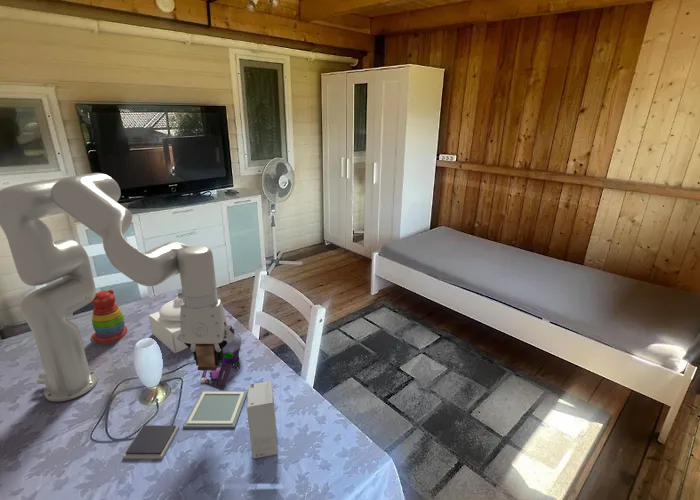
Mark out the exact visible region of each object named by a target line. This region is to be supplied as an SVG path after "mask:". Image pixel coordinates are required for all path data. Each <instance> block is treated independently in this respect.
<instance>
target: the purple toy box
mask: <svg viewBox="0 0 700 500" xmlns="http://www.w3.org/2000/svg"><path fill="white" fill-rule="evenodd" d="M219 365H221V366H220V367H219V366H218V368H217V369H216V371H202V374H201V378H200V383H202V384H204V385H205V384H206V386H207V385H208V386H211V387H217V388H219V389H220V388H221V389H225V388H226V385H227V382H228V379H229V375H230V371H231V368H232V364H231V363H225V362H220V364H219ZM207 372H208V374H209V375H208V378H206V376H207ZM209 378H211V379H209ZM214 380H216V382H215V384H213V383H214Z"/></svg>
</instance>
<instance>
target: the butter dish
mask: <svg viewBox="0 0 700 500" xmlns="http://www.w3.org/2000/svg"><path fill="white" fill-rule="evenodd" d="M182 304H183V299H181V298H178V296H177V297H175V298H174V299H173V300H170V301H168V302H166V303H165V304H163V305H162V306H161V307H160V308H159V311H156V312H154V313H151V314H148V319H149V324H150V330H151V334H152V335H153V336H155V338H157V340H159V341H160V342H161V343H162V344H164V345H165V346H166V347H167V348H168V349H169V350H171V352H173V353H174V354H177V353H179V352H182V351H184V350H185V349H188V348H189V347H188V346H186V345H185V343H182V342H181V341H179V340H177V337H178V336H179V334H180V333H181V329H180V310H181V305H182Z"/></svg>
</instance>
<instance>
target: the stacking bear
mask: <svg viewBox="0 0 700 500" xmlns="http://www.w3.org/2000/svg"><path fill="white" fill-rule="evenodd" d="M114 293H115V292H114V290H112V289H108V290H101V291H99V292H98V291H97V292H96V295H95V298H94V299H93V301H92V302H91V303H92V306H93V307H94V309H93V311H92V315H91V316H92V317H91V325H92V327H93V330H94V332H93V333H92V335H91V340H92V339H93V340H94V341H93V342H95V343H97V342H98V344H111V343H115V342H117V341H119V340H121V339H123V338H124V337H126V335H127V333H128V327H127V325H126V324H125V317H124V314H123V312H122V309H121V308H120V307H119V306H118V305H117V304H116V296H115V294H114Z"/></svg>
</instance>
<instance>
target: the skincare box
mask: <svg viewBox="0 0 700 500" xmlns="http://www.w3.org/2000/svg"><path fill="white" fill-rule="evenodd" d="M247 389H248V390H247V392H248V393H247V396H246V398H247V404H246V411H247V419H248V421H247V422H248V428H249V429H248V430H249V436H250V437H249V438H250V443H251V445H250V446H251V453H252V459H258V458H264V457H272V456H277V455H278V443H277V420H276V410H275V409H276V408H275V400H274V399H275V398H274V391H273V390H274V389H273V381H272V380H271V381H270V380H269V381H263V382H257V383H252V384H248V385H247Z"/></svg>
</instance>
